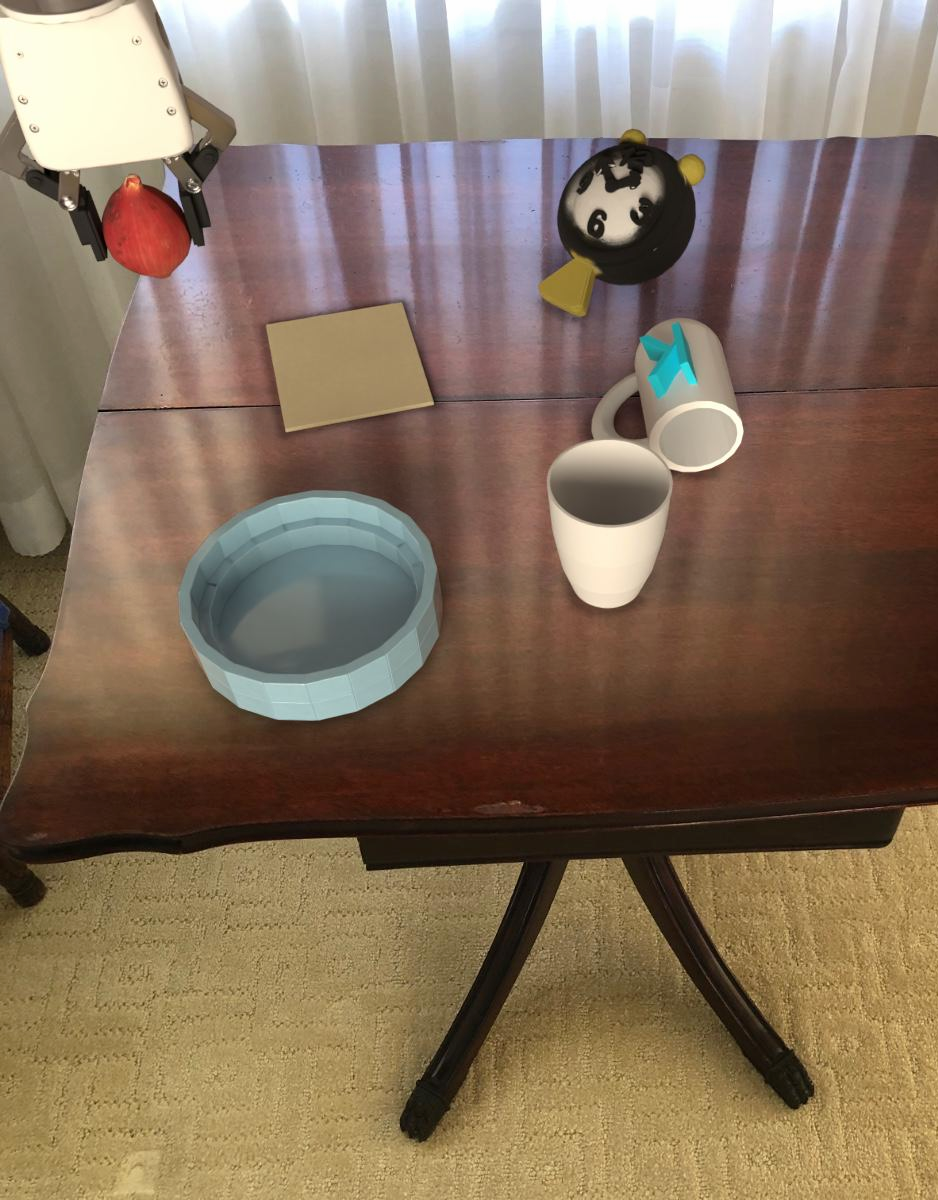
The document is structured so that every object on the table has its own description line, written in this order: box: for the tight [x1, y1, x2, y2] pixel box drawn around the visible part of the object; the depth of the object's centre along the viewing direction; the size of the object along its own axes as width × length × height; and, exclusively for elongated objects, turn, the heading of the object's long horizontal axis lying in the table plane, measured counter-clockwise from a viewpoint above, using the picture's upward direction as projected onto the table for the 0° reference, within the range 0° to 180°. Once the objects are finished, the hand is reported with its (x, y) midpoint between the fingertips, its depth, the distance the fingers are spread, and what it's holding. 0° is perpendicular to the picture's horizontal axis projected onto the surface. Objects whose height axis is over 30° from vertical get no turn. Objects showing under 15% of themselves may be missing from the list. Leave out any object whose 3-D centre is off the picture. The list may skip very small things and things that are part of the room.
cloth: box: [265, 301, 435, 433], centre depth 93 cm, size 12×14×1 cm
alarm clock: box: [537, 128, 707, 317], centre depth 98 cm, size 12×15×15 cm
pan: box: [177, 489, 444, 722], centre depth 74 cm, size 17×17×4 cm
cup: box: [546, 438, 674, 609], centre depth 75 cm, size 8×8×10 cm
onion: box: [101, 173, 193, 280], centre depth 77 cm, size 6×6×8 cm
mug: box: [591, 317, 744, 473], centre depth 86 cm, size 12×9×12 cm
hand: (150, 241), depth 78 cm, fingers closed on onion, 6 cm apart
